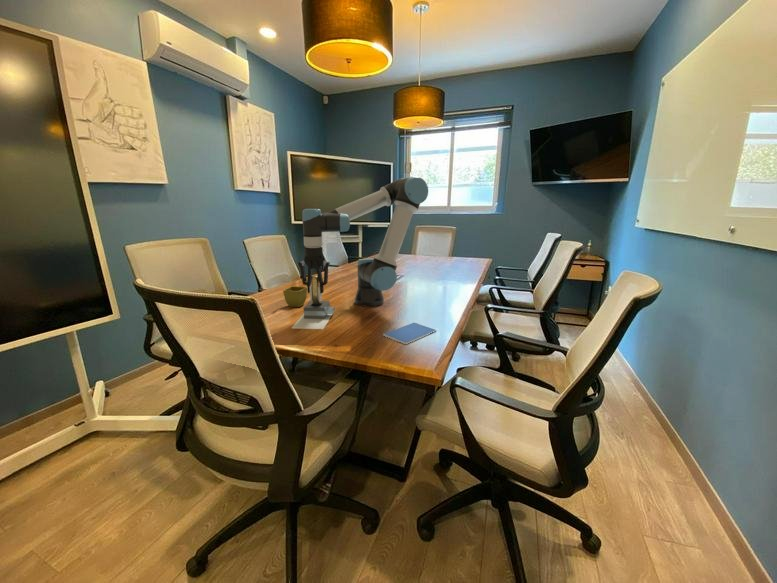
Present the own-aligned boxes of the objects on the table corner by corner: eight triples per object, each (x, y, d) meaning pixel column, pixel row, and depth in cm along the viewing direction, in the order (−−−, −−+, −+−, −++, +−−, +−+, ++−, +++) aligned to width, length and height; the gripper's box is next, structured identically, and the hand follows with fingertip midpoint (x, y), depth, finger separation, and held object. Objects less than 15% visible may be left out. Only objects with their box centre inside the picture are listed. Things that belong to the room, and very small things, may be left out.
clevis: (336, 311, 149) (335, 301, 148) (331, 319, 139) (331, 308, 137) (310, 310, 149) (310, 300, 148) (304, 318, 139) (303, 307, 138)
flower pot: (283, 307, 159) (282, 290, 156) (293, 302, 167) (291, 285, 164) (300, 309, 157) (298, 291, 154) (308, 304, 165) (307, 287, 162)
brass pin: (320, 302, 143) (319, 275, 140) (318, 304, 140) (317, 277, 137) (313, 302, 143) (312, 275, 140) (312, 304, 140) (310, 277, 137)
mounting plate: (334, 314, 149) (334, 311, 149) (323, 332, 128) (323, 329, 128) (306, 313, 150) (306, 310, 149) (291, 331, 129) (290, 328, 128)
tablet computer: (413, 324, 139) (414, 321, 139) (437, 332, 130) (437, 329, 130) (381, 336, 126) (381, 333, 125) (406, 346, 117) (406, 343, 117)
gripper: (333, 245, 139) (335, 298, 145) (297, 245, 139) (300, 297, 145) (330, 248, 132) (332, 302, 138) (291, 247, 132) (295, 302, 138)
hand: (316, 300), depth 142 cm, fingers closed on brass pin, 3 cm apart
